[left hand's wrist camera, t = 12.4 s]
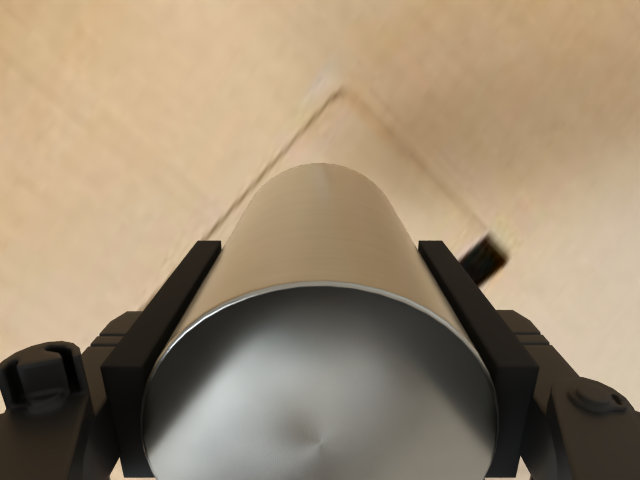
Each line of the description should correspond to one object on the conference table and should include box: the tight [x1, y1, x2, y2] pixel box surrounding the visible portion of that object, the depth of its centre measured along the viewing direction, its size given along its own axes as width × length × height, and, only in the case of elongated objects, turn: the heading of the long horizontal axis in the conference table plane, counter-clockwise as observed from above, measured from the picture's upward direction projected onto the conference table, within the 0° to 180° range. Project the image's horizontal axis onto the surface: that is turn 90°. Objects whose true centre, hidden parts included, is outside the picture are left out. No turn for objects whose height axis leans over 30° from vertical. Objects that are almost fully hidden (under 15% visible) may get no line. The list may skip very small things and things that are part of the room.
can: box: [140, 163, 499, 480], centre depth 12 cm, size 6×6×10 cm
